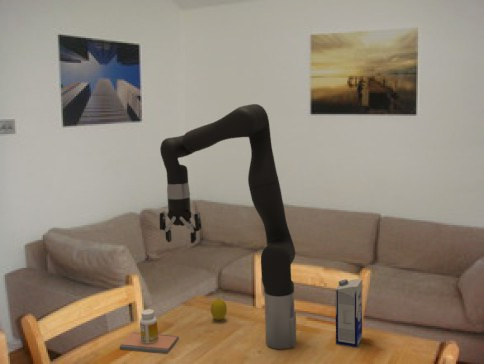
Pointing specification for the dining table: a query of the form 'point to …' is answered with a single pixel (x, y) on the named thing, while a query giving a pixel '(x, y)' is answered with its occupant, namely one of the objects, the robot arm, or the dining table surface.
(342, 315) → the milk carton
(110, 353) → the dining table surface
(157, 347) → the band board
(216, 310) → the lemon
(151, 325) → the supplement bottle
